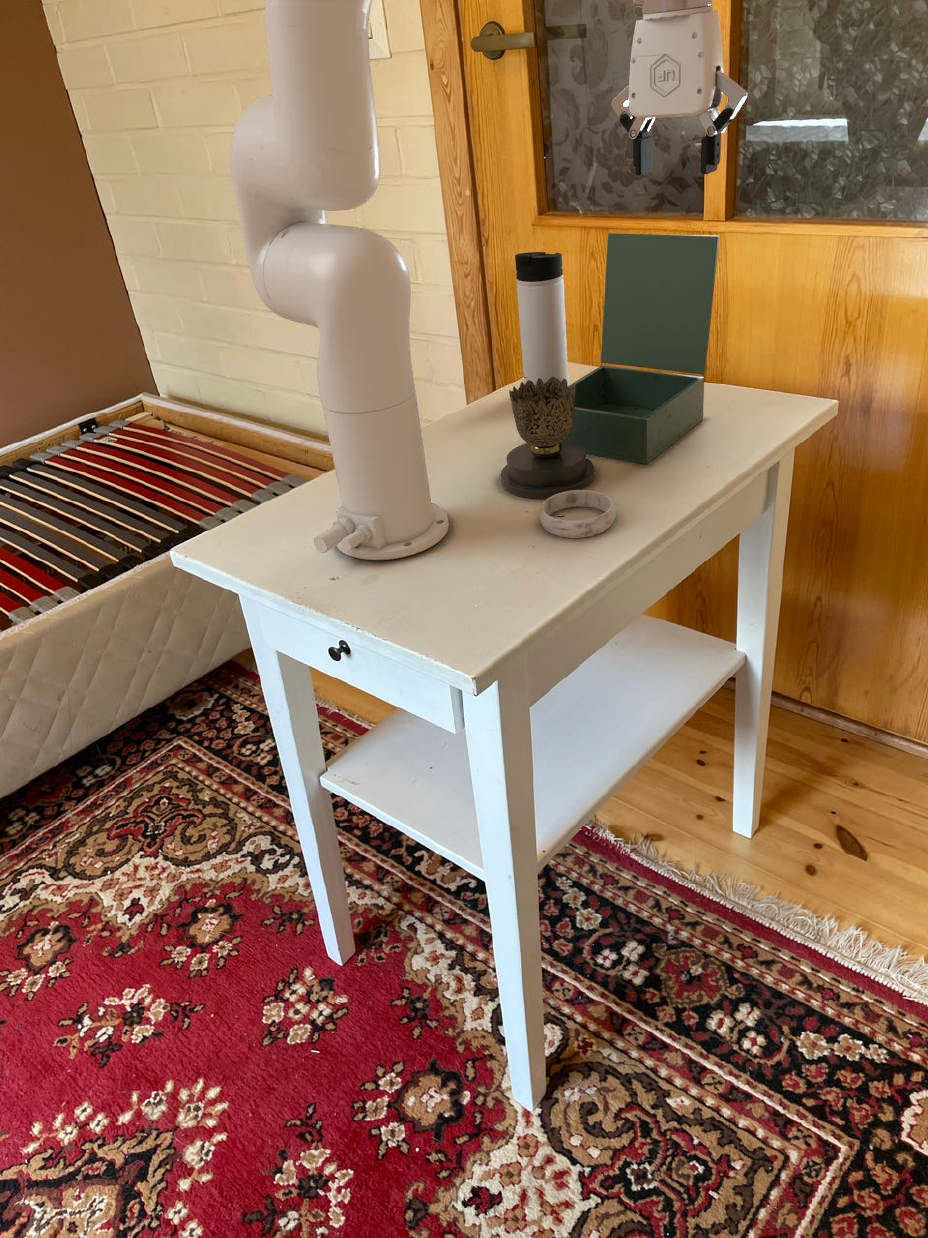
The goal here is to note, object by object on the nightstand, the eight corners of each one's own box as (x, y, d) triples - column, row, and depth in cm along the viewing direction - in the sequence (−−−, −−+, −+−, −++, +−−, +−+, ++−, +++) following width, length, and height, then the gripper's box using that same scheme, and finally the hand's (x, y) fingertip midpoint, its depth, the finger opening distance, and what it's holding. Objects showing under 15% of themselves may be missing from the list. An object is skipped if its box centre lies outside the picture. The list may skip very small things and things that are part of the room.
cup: (503, 452, 111) (497, 386, 106) (558, 436, 113) (554, 371, 108) (533, 473, 105) (528, 404, 100) (590, 456, 107) (588, 388, 103)
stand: (562, 506, 104) (560, 481, 102) (482, 488, 110) (480, 465, 108) (611, 467, 111) (611, 444, 109) (534, 453, 117) (532, 430, 115)
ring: (564, 499, 105) (563, 483, 104) (629, 512, 101) (629, 495, 100) (525, 530, 100) (524, 513, 99) (592, 545, 95) (591, 528, 94)
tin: (647, 464, 110) (646, 419, 107) (542, 446, 119) (539, 403, 116) (703, 419, 120) (704, 376, 117) (603, 405, 128) (601, 364, 125)
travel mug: (514, 401, 133) (502, 254, 122) (542, 386, 137) (533, 243, 126) (550, 408, 129) (541, 257, 119) (577, 392, 133) (571, 245, 123)
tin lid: (717, 235, 110) (719, 235, 110) (607, 232, 118) (610, 232, 118) (703, 374, 117) (705, 373, 117) (600, 362, 125) (602, 362, 125)
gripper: (592, 11, 106) (597, 179, 116) (738, -8, 96) (731, 178, 106) (624, 6, 111) (627, 168, 120) (767, -12, 101) (757, 165, 111)
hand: (675, 171), depth 113 cm, fingers open, 8 cm apart
